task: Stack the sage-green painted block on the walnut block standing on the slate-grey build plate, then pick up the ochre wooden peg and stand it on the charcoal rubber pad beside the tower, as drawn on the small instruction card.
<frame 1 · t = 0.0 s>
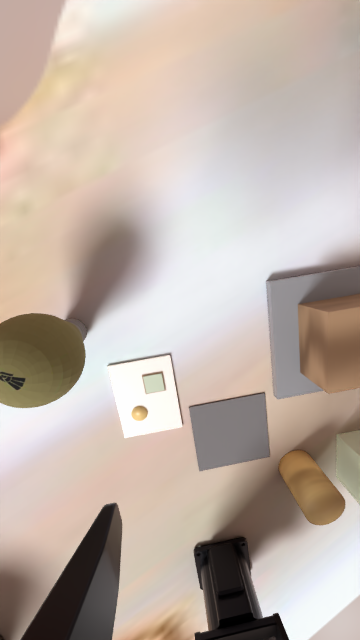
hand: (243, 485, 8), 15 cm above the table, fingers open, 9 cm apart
walnut block: (333, 333, 23), point 1 cm above the table, touching build plate
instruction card: (146, 397, 23), on the table
build plate: (327, 331, 23), on the table
charcoal pad: (230, 432, 25), on the table
light bulb: (76, 328, 21), on the table
ochre peg: (295, 464, 27), on the table
sage block: (359, 450, 27), on the table
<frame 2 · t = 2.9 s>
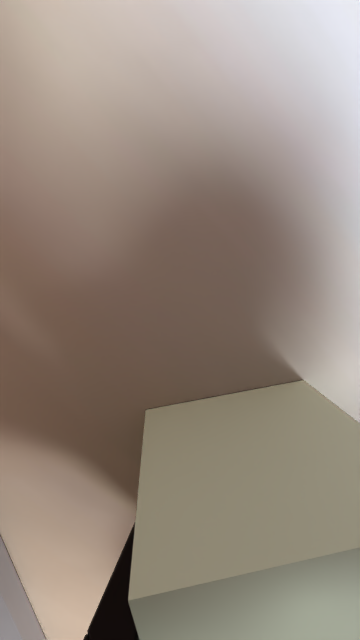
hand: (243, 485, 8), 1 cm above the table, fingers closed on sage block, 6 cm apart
sage block: (234, 461, 9), on the table, touching gripper
when the fingers open (7 cm above the table, at t = 6.1 s): sage block drops 1 cm, resting on walnut block.
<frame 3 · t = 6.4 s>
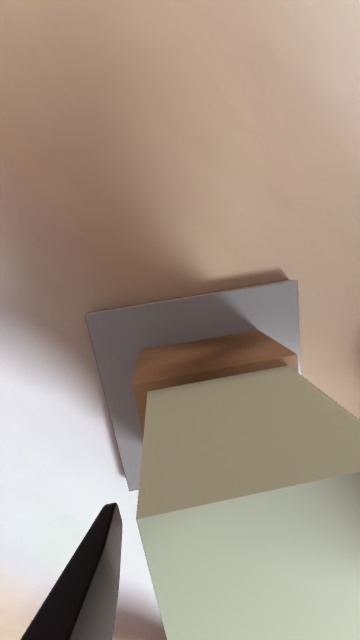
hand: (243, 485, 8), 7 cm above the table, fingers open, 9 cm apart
walnut block: (207, 393, 14), point 1 cm above the table, touching build plate, sage block
build plate: (204, 387, 15), on the table
sage block: (226, 438, 10), point 5 cm above the table, touching walnut block
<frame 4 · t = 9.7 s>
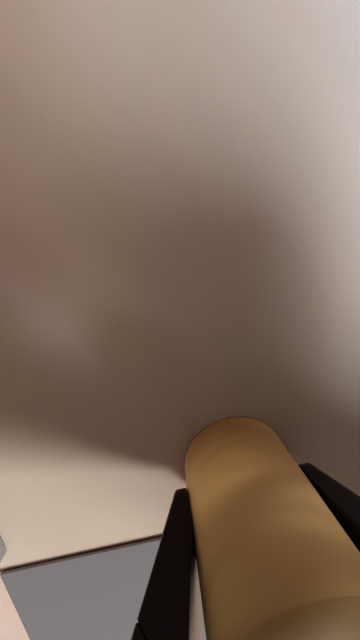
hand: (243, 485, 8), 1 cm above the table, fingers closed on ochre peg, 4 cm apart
charcoal pad: (120, 614, 11), on the table
ochre peg: (234, 461, 9), on the table, touching gripper
when the fingers open (2 cm above the table, at t = 13.1 s): ochre peg drops 1 cm, resting on charcoal pad.
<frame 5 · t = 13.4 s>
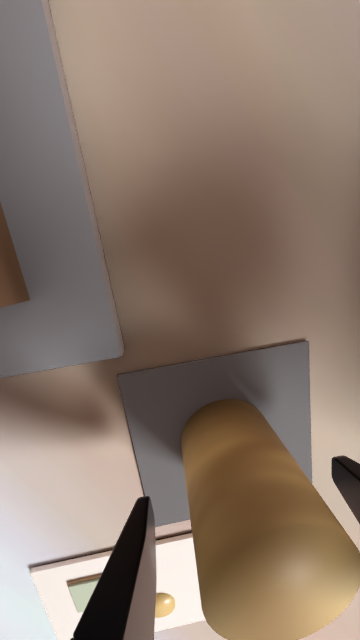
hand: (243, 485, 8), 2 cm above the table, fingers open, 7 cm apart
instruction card: (127, 592, 12), on the table
charcoal pad: (224, 439, 11), on the table
ochre peg: (225, 439, 10), resting on charcoal pad
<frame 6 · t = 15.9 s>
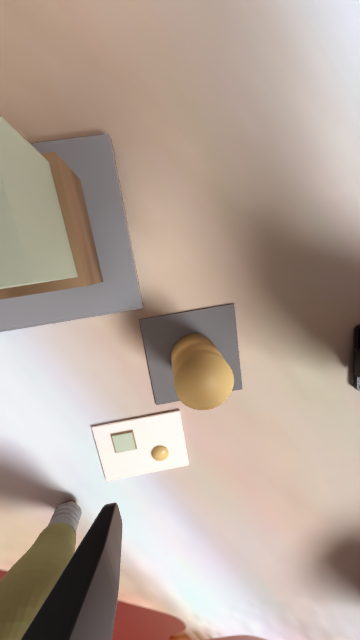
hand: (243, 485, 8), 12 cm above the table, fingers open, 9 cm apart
walnut block: (43, 240, 17), point 1 cm above the table, touching build plate, sage block
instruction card: (142, 445, 22), on the table
build plate: (48, 241, 17), on the table
charcoal pad: (193, 355, 20), on the table
light bulb: (71, 502, 23), on the table
ochre peg: (193, 355, 20), resting on charcoal pad
sage block: (8, 230, 13), point 5 cm above the table, touching walnut block
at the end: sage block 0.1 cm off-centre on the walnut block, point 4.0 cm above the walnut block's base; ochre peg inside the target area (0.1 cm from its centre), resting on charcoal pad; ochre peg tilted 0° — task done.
